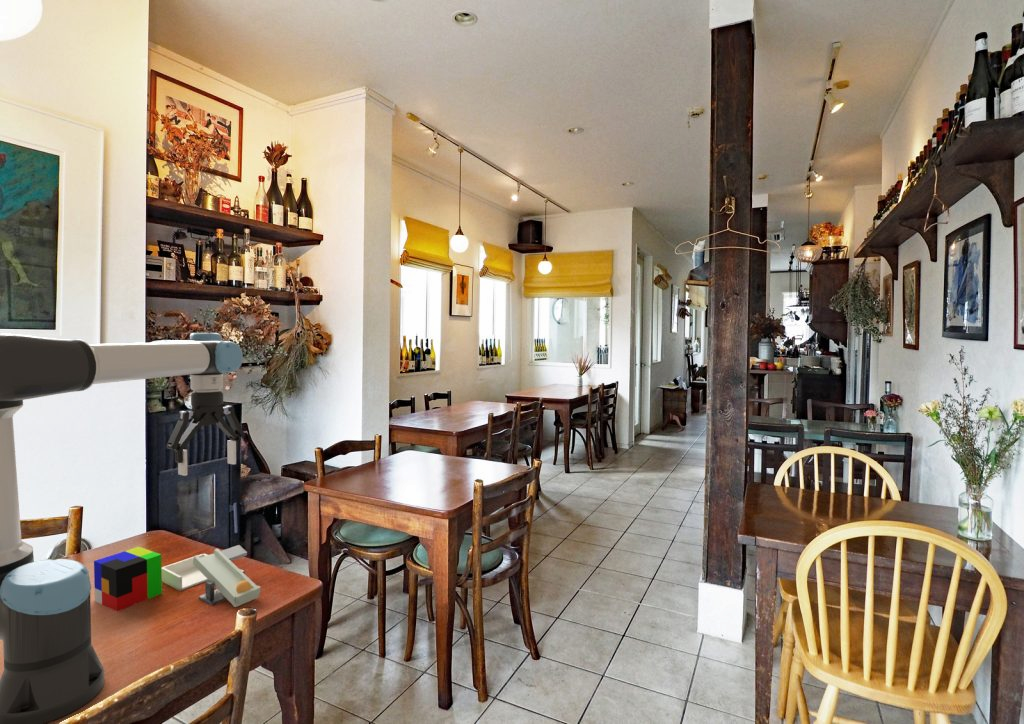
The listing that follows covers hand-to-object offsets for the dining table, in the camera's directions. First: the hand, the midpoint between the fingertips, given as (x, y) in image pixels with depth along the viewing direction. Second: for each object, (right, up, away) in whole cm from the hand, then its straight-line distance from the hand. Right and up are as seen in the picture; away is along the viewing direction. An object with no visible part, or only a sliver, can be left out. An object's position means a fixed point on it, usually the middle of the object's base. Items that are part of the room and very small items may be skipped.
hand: (208, 469), depth 142 cm
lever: (+12, -26, -7) cm, 29 cm away
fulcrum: (+10, -29, -10) cm, 32 cm away
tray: (-4, -29, -1) cm, 29 cm away
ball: (+17, -26, -14) cm, 34 cm away
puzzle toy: (-13, -29, -12) cm, 34 cm away
